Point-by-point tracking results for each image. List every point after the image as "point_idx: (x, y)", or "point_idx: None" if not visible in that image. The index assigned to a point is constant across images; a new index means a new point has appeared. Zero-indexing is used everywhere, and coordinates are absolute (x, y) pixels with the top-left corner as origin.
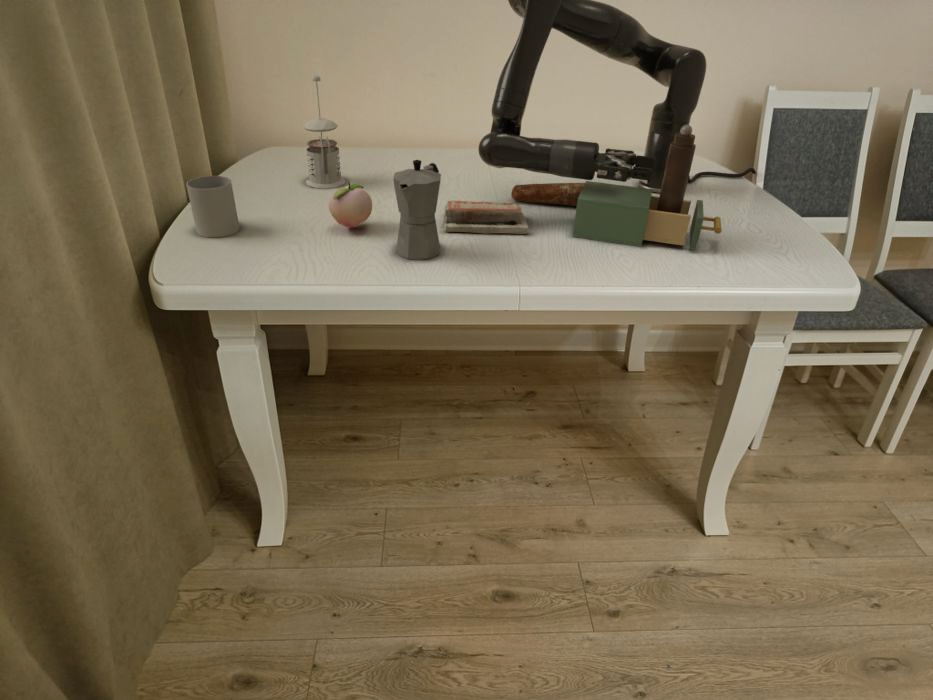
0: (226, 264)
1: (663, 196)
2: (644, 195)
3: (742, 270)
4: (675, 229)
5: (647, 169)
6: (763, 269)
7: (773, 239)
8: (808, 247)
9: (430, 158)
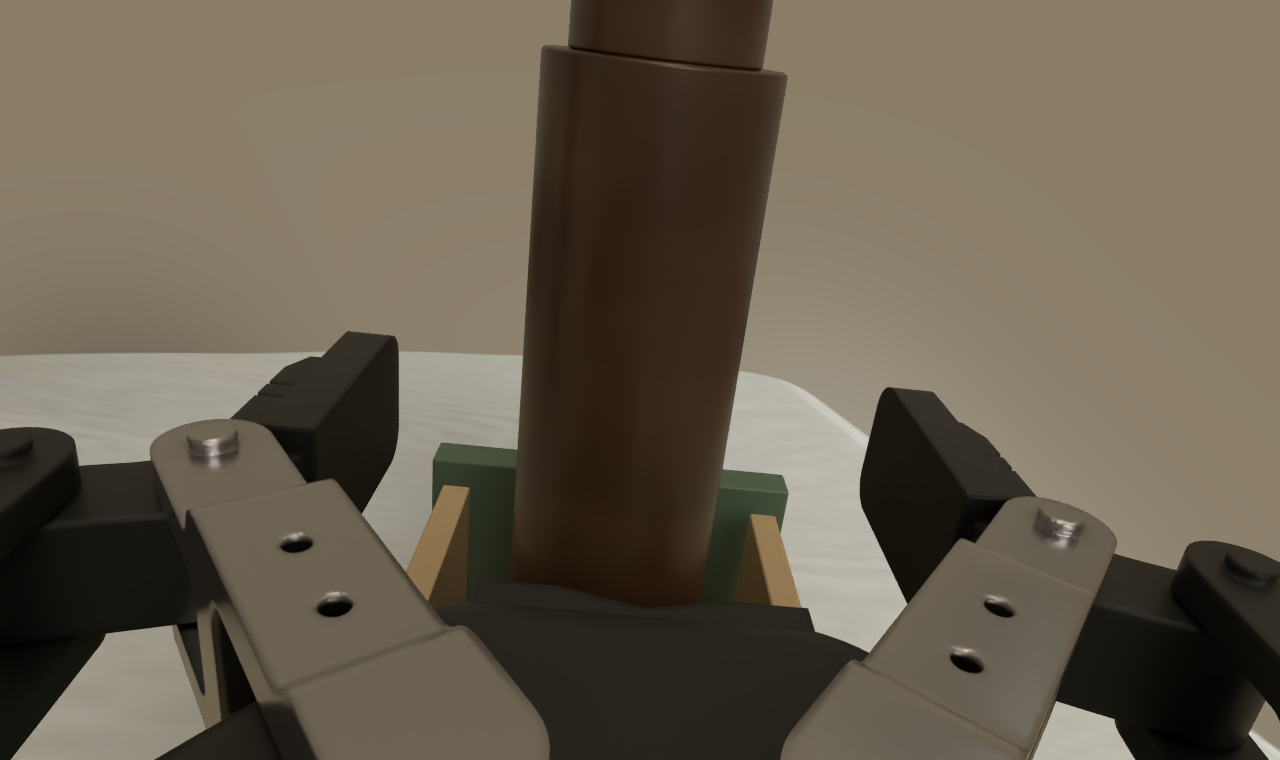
0: None
1: (688, 556)
2: None
3: (826, 532)
4: None
5: (943, 409)
6: None
7: (444, 422)
8: (498, 378)
9: None
